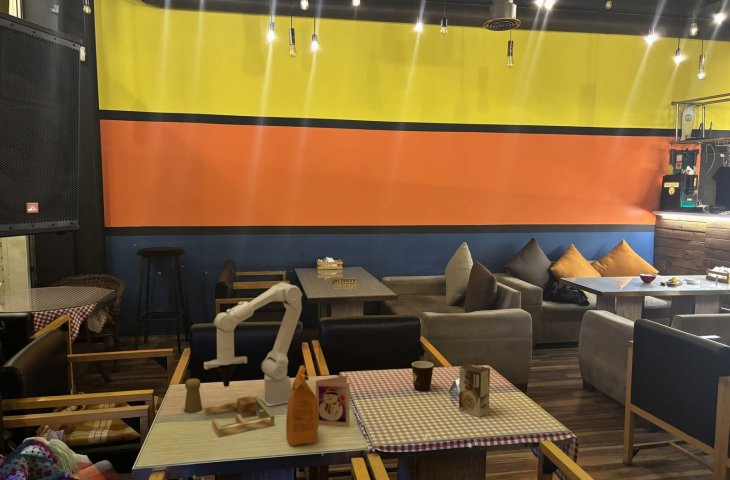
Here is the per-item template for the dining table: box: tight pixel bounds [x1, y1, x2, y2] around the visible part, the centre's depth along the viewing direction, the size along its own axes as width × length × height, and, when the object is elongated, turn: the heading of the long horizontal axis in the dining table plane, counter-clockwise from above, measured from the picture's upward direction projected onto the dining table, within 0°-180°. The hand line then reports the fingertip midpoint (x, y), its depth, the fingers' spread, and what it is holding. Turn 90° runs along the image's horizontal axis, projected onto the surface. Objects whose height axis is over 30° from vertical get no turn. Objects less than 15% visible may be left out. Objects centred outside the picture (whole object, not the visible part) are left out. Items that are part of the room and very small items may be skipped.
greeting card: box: [315, 375, 351, 428], centre depth 180 cm, size 11×7×15 cm, turn 82°
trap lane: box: [204, 395, 275, 437], centre depth 182 cm, size 18×20×3 cm
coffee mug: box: [411, 360, 434, 393], centre depth 213 cm, size 12×9×10 cm
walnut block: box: [236, 395, 257, 419], centre depth 186 cm, size 5×6×5 cm
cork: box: [184, 378, 203, 414], centre depth 189 cm, size 6×6×11 cm
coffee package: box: [285, 364, 319, 447], centre depth 168 cm, size 10×12×22 cm
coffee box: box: [458, 363, 491, 418], centre depth 190 cm, size 9×6×16 cm
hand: (226, 385), depth 186 cm, fingers closed
